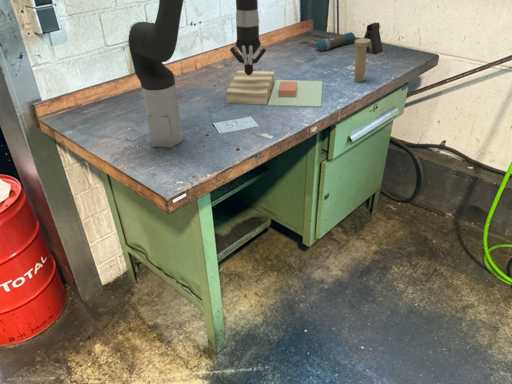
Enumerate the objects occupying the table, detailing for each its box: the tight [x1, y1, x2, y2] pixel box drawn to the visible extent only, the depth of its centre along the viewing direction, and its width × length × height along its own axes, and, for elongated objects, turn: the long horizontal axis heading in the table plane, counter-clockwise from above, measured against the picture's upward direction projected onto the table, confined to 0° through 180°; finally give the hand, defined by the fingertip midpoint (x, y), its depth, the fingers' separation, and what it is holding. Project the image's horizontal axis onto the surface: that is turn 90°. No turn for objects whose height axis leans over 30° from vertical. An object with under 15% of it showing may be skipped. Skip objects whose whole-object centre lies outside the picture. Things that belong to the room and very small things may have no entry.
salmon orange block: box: [278, 81, 297, 97], centre depth 154 cm, size 9×6×2 cm, turn 172°
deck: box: [225, 70, 275, 105], centre depth 156 cm, size 22×14×4 cm, turn 171°
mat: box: [267, 79, 324, 108], centre depth 155 cm, size 24×18×1 cm
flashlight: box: [316, 31, 356, 52], centre depth 200 cm, size 5×22×5 cm, turn 128°
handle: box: [353, 37, 371, 83], centre depth 159 cm, size 5×6×15 cm
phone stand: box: [363, 21, 383, 55], centre depth 190 cm, size 9×6×12 cm, turn 47°
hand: (249, 74), depth 152 cm, fingers closed
